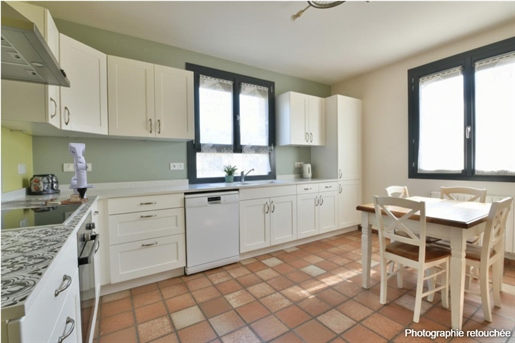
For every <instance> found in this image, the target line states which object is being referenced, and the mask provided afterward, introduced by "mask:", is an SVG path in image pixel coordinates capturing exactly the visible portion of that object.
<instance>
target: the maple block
mask: <svg viewBox="0 0 515 343" xmlns="http://www.w3.org/2000/svg"><path fill="white" fill-rule="evenodd" d="M69 200H70V201H77V200H81V196H80V194H70V195H69Z"/></svg>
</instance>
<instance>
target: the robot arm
mask: <svg viewBox="0 0 515 343" xmlns="http://www.w3.org/2000/svg"><path fill="white" fill-rule="evenodd" d="M85 151H86V144H85V143H84V142H82V143H79V142H78V143H77V142H69V143H68V153H69V155H71V156H72V158H73V169H74V175H73V176H72V177H71V178H70V186H69V187H68V189H69V190H72V193H73V194H80V196H81V199H83V198H88V197H87V191H88V189H94V188H95V185H94V184H92V185H89V184H88V178H87V171H88V165H87V162H86V160H85V159H86V158H85V157H84V156H83V155H84V154H85Z"/></svg>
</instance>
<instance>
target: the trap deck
mask: <svg viewBox="0 0 515 343" xmlns="http://www.w3.org/2000/svg"><path fill="white" fill-rule="evenodd" d="M88 201H89V197H87V198H83V199H81V200H77V201H70V199H67V198H63V199H58V198H57V197H53V198H50V199H47V200H44V206H45V207H57V206H58V207H59V206H60V207H61V206H73V205H75V206H76V205H83V204H85V203H86V202H88Z"/></svg>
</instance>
